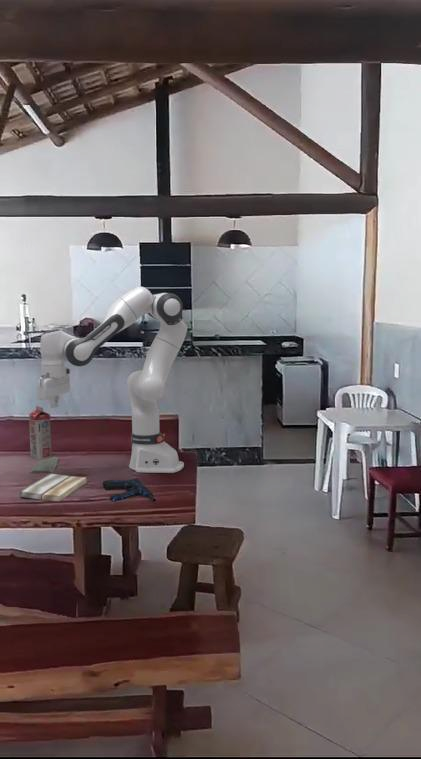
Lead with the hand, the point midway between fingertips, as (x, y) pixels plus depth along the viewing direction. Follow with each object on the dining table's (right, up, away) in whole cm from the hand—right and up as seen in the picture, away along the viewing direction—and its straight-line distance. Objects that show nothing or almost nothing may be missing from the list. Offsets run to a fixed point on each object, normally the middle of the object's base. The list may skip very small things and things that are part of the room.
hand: (54, 407), depth 249 cm
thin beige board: (+7, -30, -15) cm, 34 cm away
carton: (-14, -23, +33) cm, 42 cm away
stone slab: (-8, -26, +18) cm, 32 cm away
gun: (+30, -31, -18) cm, 47 cm away
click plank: (0, -29, -13) cm, 32 cm away
